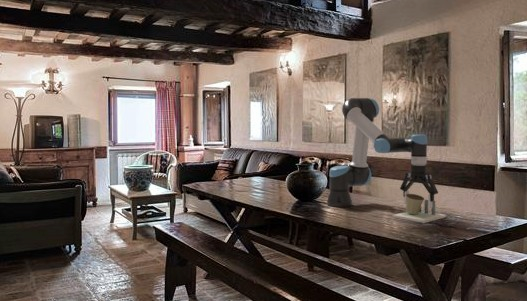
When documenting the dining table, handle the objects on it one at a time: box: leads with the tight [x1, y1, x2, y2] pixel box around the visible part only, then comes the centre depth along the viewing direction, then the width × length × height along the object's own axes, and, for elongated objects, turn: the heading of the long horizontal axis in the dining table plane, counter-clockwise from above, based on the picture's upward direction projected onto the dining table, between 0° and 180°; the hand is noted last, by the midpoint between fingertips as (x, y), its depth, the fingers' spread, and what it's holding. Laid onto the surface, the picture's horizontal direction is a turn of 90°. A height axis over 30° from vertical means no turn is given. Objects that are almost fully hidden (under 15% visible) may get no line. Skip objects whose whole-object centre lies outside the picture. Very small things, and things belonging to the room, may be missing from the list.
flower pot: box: [405, 193, 425, 215], centre depth 225 cm, size 9×9×9 cm
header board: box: [392, 199, 447, 224], centre depth 223 cm, size 18×20×8 cm
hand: (418, 205), depth 223 cm, fingers open, 13 cm apart
